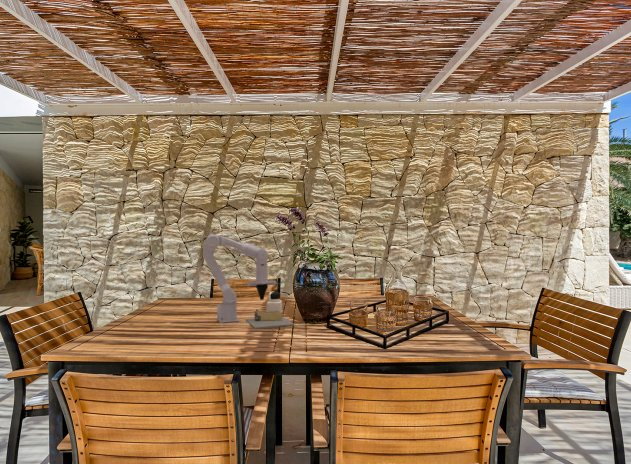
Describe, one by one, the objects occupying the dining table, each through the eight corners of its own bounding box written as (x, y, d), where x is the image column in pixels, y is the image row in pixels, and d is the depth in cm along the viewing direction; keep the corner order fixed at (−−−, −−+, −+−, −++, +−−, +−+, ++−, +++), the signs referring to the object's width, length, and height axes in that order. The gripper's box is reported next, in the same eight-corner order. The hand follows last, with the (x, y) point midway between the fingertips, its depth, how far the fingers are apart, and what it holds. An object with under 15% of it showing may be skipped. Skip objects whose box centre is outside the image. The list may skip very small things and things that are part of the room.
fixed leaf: (255, 321, 227) (255, 310, 227) (253, 320, 229) (253, 309, 229) (281, 319, 232) (281, 308, 232) (279, 318, 234) (279, 307, 234)
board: (255, 329, 214) (255, 327, 214) (245, 320, 231) (245, 319, 231) (294, 325, 221) (294, 324, 221) (282, 317, 238) (282, 316, 238)
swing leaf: (282, 319, 229) (282, 311, 229) (254, 320, 227) (254, 312, 227) (281, 318, 232) (281, 310, 231) (254, 319, 229) (254, 310, 229)
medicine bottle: (282, 313, 249) (282, 291, 249) (279, 316, 242) (280, 293, 242) (269, 313, 250) (269, 291, 250) (266, 316, 243) (266, 293, 243)
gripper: (249, 274, 228) (249, 301, 229) (277, 273, 234) (277, 299, 234) (246, 272, 235) (246, 299, 235) (273, 271, 240) (273, 297, 241)
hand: (261, 299), depth 235 cm, fingers closed
